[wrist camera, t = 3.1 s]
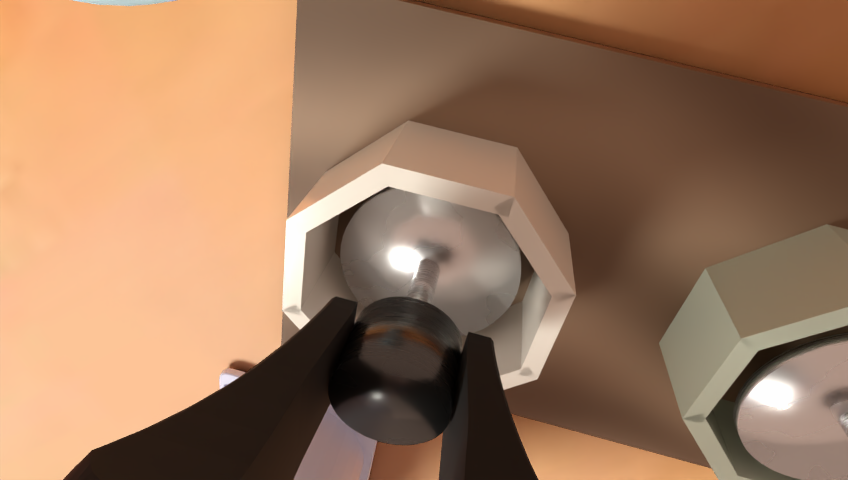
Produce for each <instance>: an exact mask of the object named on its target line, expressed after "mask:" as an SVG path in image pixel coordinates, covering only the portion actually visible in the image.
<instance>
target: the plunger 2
mask: <svg viewBox="0 0 848 480" xmlns="http://www.w3.org/2000/svg"><path fill="white" fill-rule="evenodd" d="M733 418H734V423H735V427H736V429H737V432H738V434H739V437H740V439H741V441H742V444H743V445H744V447H745V448H746V450H747V451H748V452H749V453H750V454H751V455H752V456H753V457H754V458H755V459H756V460H757V461H759V462H760V463H761V464H763V465H765V466H766V467H768V468H770V469H772V470H774V471H776V472H778V473H781V474H783V475H786V476H790V477H793V478H797V479H801V480H848V333H842V334H836V335H832V336H827V337H823V338H819V339H816V340H813V341H810V342H807V343H804V344H801V345H799V346H796V347H794V348H792V349H789V350H787V351H785V352H784V353H782V354H780V355H778V356H776V357H774V358H773V359H771V360H770V361H768V362H767V363H765V364H764V365H763V366H762V367H760V368H759V369H758V370H757V371H756V372H754V373H753V374H752V376H751V377H750V378H749V379H748V380H747V381H746V382H745V384H744V385H743V387H742V388H741V390H740V391H739V394H738V396H737V398H736V401H735V405H734V412H733Z"/></svg>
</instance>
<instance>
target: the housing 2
mask: <svg viewBox="0 0 848 480" xmlns="http://www.w3.org/2000/svg"><path fill="white" fill-rule="evenodd" d="M847 325H848V229H844V228H840V227H836V226H831V225H827V224H826V225H823V226H821V227H818V228H815V229H812V230H810V231H807V232H804V233H801V234H799V235H796V236H793V237H790V238H787V239H785V240H782V241H779V242H776V243H774V244H771V245H768V246H765V247H762V248H760V249H757V250H754V251H751V252H749V253H746V254H743V255H740V256H737V257H735V258H732V259H729V260H726V261H724V262H721V263H718V264H715V265H713V266H710V267H707V268H705V270H704V271H703V273H702V274H701V276H700V278H699V279H698V281H697V282H696V284H695V286H694V287H693V289H692V291H691V292H690V294H689V295H688V297H687V299H686V300H685V302H684V303H683V305H682V307H681V308H680V310H679V311H678V313H677V315H676V316H675V318H674V320H673V321H672V323H671V324H670V326H669V328H668V329H667V331H666V332H665V334H664V336H663V337H662V339H661V341H660V342H659V345H660V348H661V351H662V355H663V358H664V361H665V364H666V368H667V371H668V374H669V377H670V381H671V384H672V387H673V390H674V394H675V397H676V400H677V403H678V407H679V410H680V413H681V417H682V419H683V420H684V422H685V424H686V426H687V427H688V429H689V431H690V432H691V434H692V436H693V437H694V439H695V441H696V442H697V444H698V446H699V447H700V449H701V451H702V453H703V454H704V456H705V458H706V459H707V461H708V463H709V464H710V466H711V468H712V469H713V471H714V473H715V475H716V476H717V478H718V480H801V479H797V478H793V477H790V476H786V475H783V474H781V473H778V472H776V471H774V470H772V469H770V468H768V467H766V466H765V465H763V464H761V463H760V462H759V461H757V460H756V459H755V458H754V457H753V456H752V455H751V454H750V453H749V452H748V451H747V450H746V448H745V447H744V445H743V444H742V441H741V439H740V437H739V434H738V432H737V429H736V427H735V423H734V418H733V412H734V405H735V403H734V402H730V401H727V400H723V399H721V398H722V396H723V395H724V394H725V393H726V391H727V390H728V389H729V388H730V386H731V385H732V384H733V382H734V381H735V380H736V379H737V377H738V376H739V375H740V373H741V372H742V371H743V370H744V368H745V367H746V366H747V364H748V363H749V362H750V361H751V359H752V358H753V357H754V355H755V354H756V353H757V352H758V351H759V350H762V349H766V348H769V347H773V346H776V345H780V344H784V343H787V342H791V341H794V340H798V339H801V338H805V337H808V336H812V335H815V334H819V333H822V332H826V331H829V330H833V329H836V328H840V327H843V326H847Z"/></svg>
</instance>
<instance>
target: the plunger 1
mask: <svg viewBox="0 0 848 480" xmlns="http://www.w3.org/2000/svg"><path fill="white" fill-rule="evenodd" d="M340 258H341V266H342V270H343V274H344V277H345V279H346V282H347V284H348V286H349V288H350V289H351V291H352V293H353V294H354V296H355V297H356V298H357V300H358V301H359V302H360V303H361V304H362V305H363V306H364V307H365V308H364V309H363V310H362V311H361V313H360V314H359V316H358V317H357V320H356V322H355V324H354V326H353V329H352V331H351V333H350V336H349V338H348V340H347V342H346V345H345V347H344V349H343V352H342V354H341V356H340V358H339V361H338V363H337V365H336V368H335V370H334V372H333V374H332V377H331V379H330V381H329V385H328V396H329V400H330V403H331V406H332V408H333V409H334V411H335V412H336V414H337V415H338V416H339V417H340V419H341V420H342V421H343V422H344V423H345V424H347V425H348V426H349V427H350V428H352V429H353V430H355V431H356V432H358V433H360V434H362V435H364V436H366V437H368V438H371V439H373V440H376V441H379V442H383V443H387V444H394V445H414V444H420V443H424V442H427V441H430V440H432V439H434V438H436V437H437V436H439V435H440V434H441V433H442V432H443V431H444V430H445V429H446V427H447V426H448V424H449V422H450V419H451V414H452V408H453V402H454V396H455V389H456V383H457V376H458V370H459V364H460V358H461V352H462V339H461V336H465V335H467V334H468V332H471V333H475V332H477V331H480V330H482V329H484V328H486V327H487V326H489V325H491V324H492V323H494V322H495V321H496V320H498V319H499V318H500V317H501V316H502V315H503V314H504V313H505V312H506V311H507V310H508V308H509V307H510V305H511V304H512V302H513V301H514V298H515V296H516V294H517V292H518V288H519V285H520V278H521V255H520V250H519V246H518V244H517V242H516V241H515V239H514V237H513V236H512V234H511V233H510V231H509V230H508V228H507V227H506V225H505V224H504V222H503V221H502V219H501V217H500V216H499V215H498V214H494V213H490V212H487V211H483V210H479V209H475V208H471V207H467V206H463V205H459V204H455V203H451V202H447V201H443V200H439V199H436V198H432V197H428V196H424V195H420V194H416V193H412V192H408V191H404V190H400V189H396V188H392V187H388V188H386V189H384V190H382V191H380V192H378V193H376V194H375V195H373V196H372V197H370V198H369V199H368V200H366V201H365V202H364V203H363V204H362V205H361V206H360V207H359V208H358V210H357V211H356V212H355V213H354V215H353V217H352V218H351V220H350V222H349V224H348V225H347V227H346V229H345V232H344V235H343V238H342V242H341V251H340Z"/></svg>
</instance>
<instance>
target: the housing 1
mask: <svg viewBox="0 0 848 480" xmlns="http://www.w3.org/2000/svg"><path fill="white" fill-rule="evenodd" d="M386 187H392V188H396V189H400V190H404V191H408V192H412V193H416V194H420V195H424V196H428V197H432V198H436V199H439V200H443V201H447V202H451V203H455V204H459V205H463V206H467V207H471V208H475V209H479V210H483V211H487V212H490V213H494V214H498V215H499V216H500V217H501V219H502V221H503V222H504V224H505V225H506V227H507V228H508V230H509V231H510V233H511V234H512V236H513V237H514V239H515V241H516V242H517V244H518V245H519V247H520V248H521V250H522V251H523V253H524V254H525V256H526V258H527V259H528V261H529V262H530V264H531V265H532V267H533V268H534V273H533V275H532V278H531V280H530V283H529V286H528V288H527V291H526V293H525V296H524V299H523V301H522V302H519V303H517V304H514V305H512V306H510V307H509V308H508V310H507V311H506V312H505V313H504V314H503V315H502V316H501V317H500V318H499V319H498V320H496V321H495V322H494V323H492V324H491V325H489V326H487V327H486V328H484V329H482V330H480V331H477V332H475V334H479V335H483V336H486V337H490V338H491V339H492V340H493V342H494V349H495V355H496V361H497V365H498V370H499V374H500V378H501V382H502V386H503V389H504V390H505V389H508V388H511V387H515V386H518V385H521V384H524V383H527V382H530V381H534V380H537V379H538V377H539V375H540V373H541V370H542V368H543V366H544V364H545V362H546V360H547V357H548V355H549V353H550V351H551V349H552V347H553V344H554V342H555V340H556V338H557V336H558V333H559V331H560V329H561V327H562V325H563V323H564V320H565V318H566V316H567V314H568V312H569V310H570V307H571V305H572V303H573V301H574V299H575V297H576V290H575V282H574V274H573V266H572V258H571V250H570V242H569V234H568V232H567V230H566V228H565V227H564V225H563V223H562V222H561V220H560V218H559V217H558V215H557V213H556V212H555V210H554V208H553V207H552V205H551V203H550V201H549V200H548V198H547V196H546V195H545V193H544V191H543V190H542V188H541V186H540V185H539V183H538V181H537V180H536V178H535V176H534V175H533V173H532V171H531V170H530V168H529V166H528V165H527V163H526V161H525V159H524V158H523V156H522V154H521V153H520V151H519V149H518V147H514V146H509V145H505V144H501V143H497V142H493V141H489V140H485V139H481V138H477V137H473V136H469V135H465V134H461V133H457V132H453V131H449V130H445V129H441V128H437V127H433V126H429V125H425V124H421V123H417V122H413V121H409V120H408V121H407V122H405V123H403V124H402V125H400V126H399V127H397V128H395V129H394V130H392V131H391V132H389V133H387V134H386V135H384V136H382V137H381V138H379V139H378V140H376V141H374V142H373V143H371V144H370V145H368V146H366V147H365V148H363V149H362V150H360V151H358V152H357V153H355V154H353V155H352V156H350V157H349V158H347V159H345V160H344V161H342V162H341V163H339V164H337V165H336V166H334V167H333V168H331V169H329V170H328V171H326V172H325V173H324V175H323V176H322V177H321V178H320V179H319V181H318V182H317V183H316V184H315V186H314V187H313V188H312V189H311V190H310V192H309V193H308V194H307V195H306V197H305V198H304V199H303V200H302V201H301V203H300V204H299V205H298V206H297V208H296V209H295V210H294V211H293V212H292V214H291V215H290V216H289V217H288V219H287V220H286V240H285V262H284V284H283V306H282V311H283V312H284V313H285V314H286V315H287V316H288V317H289V319H290V320H291V321H292V322H293V323H294V324H295V325H296V326H297V327H298V328H299V329H301V328H303V327H304V326H305V325H306V324H307V323H308V322H309V321H310V320H311V319H312V318H313V317H314V316H315V315H316V314H317V313H318V312H319V311H320V310H321V309H322V308H323V307H324V306H325V305H326V304H327V303H328V302H329V301H330V300H331V299H332V298H334V297H336V296H337V297H340V298H344V299H348V300H352V301H355V302H358V304H357V310H356V317H355V322H356V320H357V317H358V316H359V314H360V313H361V311H362V310H363V309H364V308H365V307H364V306H363V305H362V304H361V303H360V302H359V301H358V300H357V298H356V297H355V296H354V294H353V293H352V291H351V289H350V288H349V286H348V284H347V282H346V279H345V277H344V274H343V270H342V266H341V259H340V258H339V257H338V255H337V254H336V253H335V245H336V236H337V227H338V218H339V214H340V213H342V212H343V211H345V210H347V209H349V208H350V207H352V206H354V205H356V204H357V203H359V202H361V201H363V200H365V199H366V198H368V197H370V196H372V195H373V194H375V193H377V192H379V191H380V190H382V189H384V188H386ZM354 324H355V323H354ZM466 337H467V335H465V336H461V339H462V350H463V347H464V344H465V340H466ZM461 353H462V352H461Z"/></svg>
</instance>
